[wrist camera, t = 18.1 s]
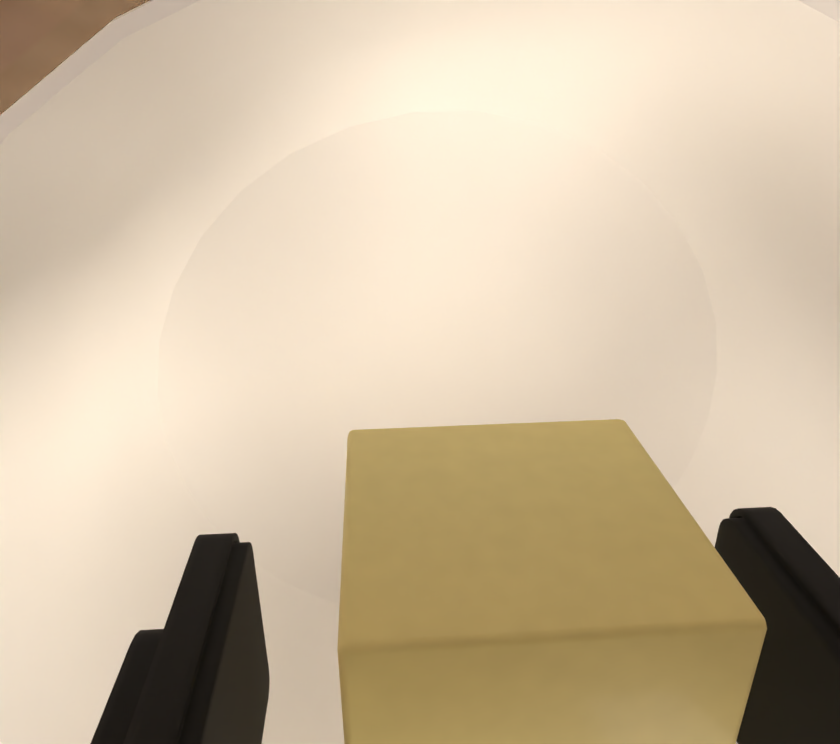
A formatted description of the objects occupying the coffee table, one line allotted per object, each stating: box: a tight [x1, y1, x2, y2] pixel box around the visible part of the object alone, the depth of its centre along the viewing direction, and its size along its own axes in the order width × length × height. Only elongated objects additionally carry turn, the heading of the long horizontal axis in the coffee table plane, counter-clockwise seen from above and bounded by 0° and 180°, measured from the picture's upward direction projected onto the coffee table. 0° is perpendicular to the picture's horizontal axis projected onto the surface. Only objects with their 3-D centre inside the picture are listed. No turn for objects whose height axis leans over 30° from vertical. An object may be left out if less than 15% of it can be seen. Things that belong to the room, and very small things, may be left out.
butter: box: [337, 419, 767, 744], centre depth 9 cm, size 6×4×4 cm, turn 0°
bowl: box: [0, 0, 840, 744], centre depth 14 cm, size 18×18×7 cm
